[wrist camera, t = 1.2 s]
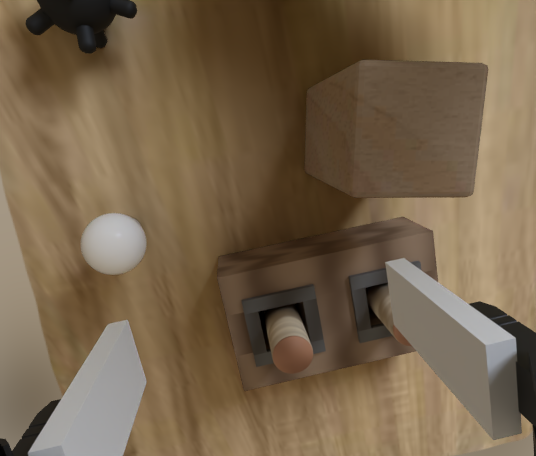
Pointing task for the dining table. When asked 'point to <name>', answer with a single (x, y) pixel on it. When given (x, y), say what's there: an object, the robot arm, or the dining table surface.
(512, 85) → the dining table surface
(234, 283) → the socket block
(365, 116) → the wooden block
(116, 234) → the lightbulb
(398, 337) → the peg
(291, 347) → the peg
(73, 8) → the toy ball
